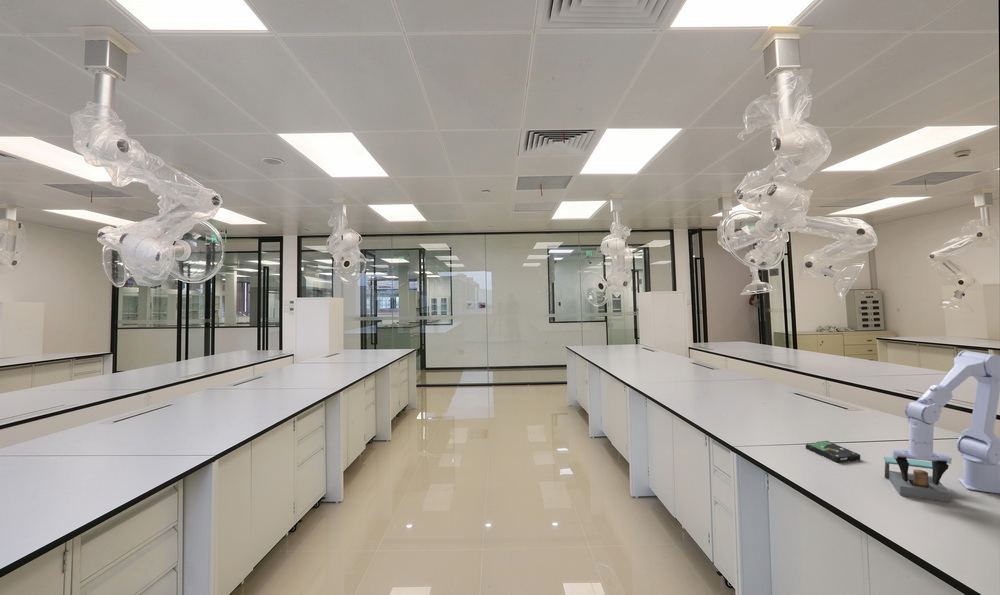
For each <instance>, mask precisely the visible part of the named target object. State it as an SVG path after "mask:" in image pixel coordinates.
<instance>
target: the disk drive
mask: <svg viewBox="0 0 1000 595" xmlns="http://www.w3.org/2000/svg"><path fill="white" fill-rule="evenodd" d="M805 449H806V450H809V451H811V452H813V453H814V452H815V454H817V455H819V456H821V457H823V456H824V457H823V458H825V457H826V458H825V459H827V458H828V460H829V461H832V462H834V463H836V464H839V463H841V464H842V463H849V462H848V461H850V462H857V461H856V460H858V461H861V454H859V453H857V452H855V451H852V450H850V449H847V448H845V447H843V446H841V445H838V444H835V443H834V442H831V441H828V440H822V441H816V442H810V443H809V442H806V444H805Z"/></svg>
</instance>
